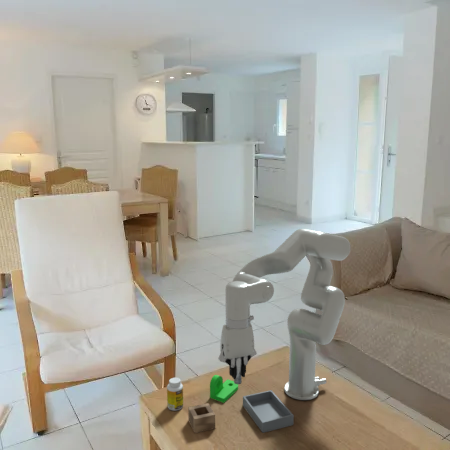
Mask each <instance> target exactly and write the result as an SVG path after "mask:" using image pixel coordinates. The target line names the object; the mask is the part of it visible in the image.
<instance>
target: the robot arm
mask: <svg viewBox="0 0 450 450" xmlns="http://www.w3.org/2000/svg"><path fill="white" fill-rule="evenodd" d="M351 249H352V248H351V243H350V241H349V239H348V238H346V237H345V236H342V235H341V236H340V235H336V234H330V233H327V232H323V231H318V230H314V229H313V230H312V229H308V228H299V229H296V230H294V232H292V233H291V235H289V237H287V239H285V241H284V242H283V243H282V244H280V245H279V246H278V248H276V249H275V250H274V251H272V252H270V253H268V254H265V255H262V256H260V257H257V258H255V259H253V260H251V261H249V262H247V264H245V265H244V266H242V268H241V269H240V270H239V271H238V272H237V273H236V275H234V277H233V280H232V281H231V282H228V283H227V284H226V286H225V324H223V325H222V330H221V335H220V345H219V348H220V349H219V350H220V353H219V356H218V361H219V362H222V363H226V364H227V365H228V366H229V368H228V369H229V370H228V373H229V376H230V377H232V380H234V379H236V367H235V358H239V357H242V378H245V377H246V373H247V365H248V363H249V361H251V358H253V357H255V356H256V355H257V351H256V348H255V336H254V330H253V324H252V323H251V322H252V321H253V320H255V318H254V317H255V316H254V315H251V306H252V305H258V304H263V303H266V302H268V301H270V300H271V299H272V298H273V296H274V292H275V288H274V285H273V283H271V282H270V280H267V279H265V278H262V277H265V276H270V275H277V274H285V273H289V272H291V271H293V270H294V269H295V267H297V266H298V264H300V262H301V261H302V260H304V258H305V257H306V256H308V257H309V262H310V263H309V264H310V266H309V270H308V273H307V275H306V278H305V282H304V284H303V288H302V290H301V294H300V300H301V303H302V304H304V305H305V306H307V307H309V308H312V309H314V310H318V311H321V314H319V313H316V312H315V311H311V310H308V309H306V308H296V309H295V308H294V309H293V310H292V311H291V312H290V313H289V314H288V317H287V330H288V335H289V359H288V360H289V361H288V362H289V363H288V364H289V365H288V381H287V382H286V383H285V384H284V388H283V389H284V393H285V394H286V395H287V396H288V397H289V398H290V397H291V398H292V399H294V400H299V401H310V400H314V399H315V398H317V397H318V396H319V394H320V392H319V391H320V389H319V386H321V385H325V384H327V379H326V378H324V377H323V378H320V376H316V366H317V365H316V364H317V363H316V361H317V359H316V358H317V357H316V356H317V345H316V343H317V344H318V345H319V344H320V345H323V346H324V345H328V344H330V343H331V341H333V339H334V337H335V334H336V332H337V329H338V326H339V323H340V320H341V316H342V314H343V311H344V308H345V303H346V302H345V301H346V300H345V297H346V296H345V293H344V292H343V290H342V289H340V288H338V287H337V286H332V285H331V281H332V278H333V275H334V269H333V267H334V266H333V264H332V261H331V260H333V261H344V260H345V259H347V258H348V256H349V255H350V253H351Z"/></svg>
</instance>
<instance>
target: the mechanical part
mask: <svg viewBox="0 0 450 450" xmlns="http://www.w3.org/2000/svg"><path fill="white" fill-rule="evenodd" d="M238 390H239V384H235V383H234V380H231V379H229V378H228V379H226V380H225V381H224V379H223V377H222V376H221V375H219V374H214V375H213V376H212V377H211V379H210V382H209V398H210V399H212V400H215V401H218V402H220V403H224V404H225V402H227V401H228V400H229V399H230V398H231V397H232V396H233V395H234V394H235V393H236V392H237V391H238Z"/></svg>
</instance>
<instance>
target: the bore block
mask: <svg viewBox="0 0 450 450" xmlns="http://www.w3.org/2000/svg"><path fill="white" fill-rule="evenodd" d="M187 409H188V414H187V415H188V422H189V425H190V427H191V429H192V431H193V433H194V434H197V433H202V432H206V431H210V430H215V429H216V413H215V412H214V410H213V408H212V407H211V405H210V403H209V402H207V403H202V404H198V405H194V406H189V407H187Z"/></svg>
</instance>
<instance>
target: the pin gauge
mask: <svg viewBox="0 0 450 450" xmlns="http://www.w3.org/2000/svg"><path fill="white" fill-rule="evenodd" d="M235 367H236V379H233V381H234V383H235V384H238V385H242V378H243V377H242V357H239V358H235Z"/></svg>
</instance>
